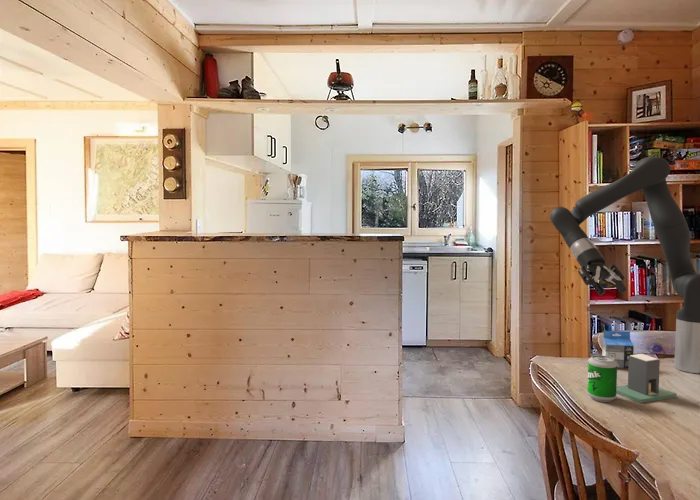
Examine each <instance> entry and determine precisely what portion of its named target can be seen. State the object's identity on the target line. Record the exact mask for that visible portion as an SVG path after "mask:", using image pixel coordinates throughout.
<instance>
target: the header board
mask: <svg viewBox="0 0 700 500" xmlns="http://www.w3.org/2000/svg"><path fill="white" fill-rule="evenodd" d="M616 395H620V396H623V397H625V398H626V399H629V400H631V401H634V402H636V403H638V404H643V403H649V402H655V401H660V400H661V401H662V400H667V399H672V398H677V396H678V395H677V393H676V392H673V391H671V390H668V389H665V388H663V387H660V386H659V393H654V392H651V383H650V382H649V387H648V395H644V394H641V393H639V392H636V391H634V390H631V389H629V388H628V384H627V385H626V384H625V385H619V386H617V387H616Z"/></svg>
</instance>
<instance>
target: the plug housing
mask: <svg viewBox="0 0 700 500" xmlns="http://www.w3.org/2000/svg"><path fill="white" fill-rule="evenodd" d="M660 360H661V359H659V358H656V357H653V356H650V355H647V354H644V353H637V354H636V353H635V354H633V355H630V356H629V368H628V370H627V372H628V374H627V375H628V376H627V385H628V388H629V389H631V390H634V391H636V392H639V393H641V394H644V395H648V387H649V382H650V383H651V392H654V393H659V387H660V364H661V363H660V362H661V361H660Z"/></svg>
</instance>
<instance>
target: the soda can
mask: <svg viewBox="0 0 700 500" xmlns="http://www.w3.org/2000/svg"><path fill="white" fill-rule="evenodd" d="M587 361H588V364H587V392H586V393H587V395H588V396H589V397H590V398H591V399H592V400H594V401H597V402H601V403H611V402H613V401H614V400H615V399H617V393H616V387H618V386H617V385H618V383H617V382H618V381H617V380H618V368H617V362H616V361H615V360H614V359H613V358H611V357H608V356H602V354H601V355H600V354H599V355H598V354H597V355H592V356H591V357H590V358H588V360H587Z"/></svg>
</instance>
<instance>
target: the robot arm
mask: <svg viewBox="0 0 700 500" xmlns="http://www.w3.org/2000/svg"><path fill="white" fill-rule="evenodd" d="M670 171H671V166H670V164H669V162H668V161H667V160H666V159H665V158H662V157H660V156H646V157H644V158H641V159H640V160H638V161H637V162H636V164H635V166H634V167H633V169H632V171H630V172H629V173H627V174H626V175H624V176H622V177H621V178H619V179H617V180H615V181H613V182H611V183H609V184H606V185H604V186H602V187H599V188H597V189H595V190H594V191H590V193H588V194H586V195H585V196H583V197H581V198H579V199H577V200H576V202H575V205H574V207H573V208H572V209H571V210H569V209H568V208H566V207H564V206H558V207H555V208H554V209H552V211H551V212H550V215H549V219H550V222H551V223H552V225H553V226H554V228H555V229H556V230H557V231H558V232H559V234H560V235H561V236H562V238H563V240H564V242H565V244H566V245H567V247H568V248H569V250H570V251H571V254H572V255H573V257H574V259H575V260H576V261H577V263H578V265H579V266H580V268H579V270H578V272H577V273H578V274H579V276H580V278H581V280H582V281H583V283H584V284H585V285H586V286H591V287H593V288H594V290H595V291H596V293H597V294H598V296H603V295H604V294H605V293H606V290H605V288H604V287H603V285H602V284H601V283H600V282H599V281H601V280H606V281H607V282H608V283H609V282H610V283H612V284H613V285H614V286H615V287H616V289H617V290H618V292H619V293H620V294H621V295H623V294H625V293H626V292H627V290H628V289H627V287H626V285H625V284H624V282H623V281H624V280H625V277H626V276H625V275H623V274H622V272H621V271H620V270H619V268H618V267H617V266H616V264H612V265H610V266H608V265H607V264H606V263H605V260H606V259H605V257H604V255H602V253H601V252H600V250H599V249H598V247H597V246H596V245H595V243H594V242H593V241H592V240H591V238H589V236H588V234H586V232H585V231H584V230H583V229H582V228H581V227H580V225H582V224H583V222H585V221H586V220H587V219H588V218H590V217H591V216H592V215H595V214H597V213H598V212H601V211H602V210H604V209H606V208H608V207H609V206H611V205H613V204H615V203H616V202H618V201H620V200H622V199H623V198H626V197H628V196H630V195H632V194H633V193H636V192H639V191H640V190H641V192H642V193H643V197H644V198H645V202H646V205H647V209H648V211H649V212H648V213H649V215H650V219H651V222H652V226H653V229H654V231H655V233H656V234H655V235H656V237H657V240H658V242H659V245H660V247H661V250H662V253H663V255H664V259H665V261H666V263H667V268H668V272H669V275H670V276H669V277H670V280H671V284H672V288H673V290H674V292H675V293H676V294H677V295H678V296H679V297H681V298H684V299H683V307H682V308H679V309H678V310H677V311H676V317H675V319H676V320H675V339H674V340H675V343H674V368H675V369H677V370H679V371H682V372H685V373H690V374H691V373H692V374H700V273H697V272H696V270H695V267H694V266H693V265H694V264H693V263H692V261H691V256H690V248H691V247H690V246H691V239H692V238H691V237H692V236H691V232H690V228H689V226H688V221H687V220H686V217H685V215H684V213H683V210H682V209H681V207H679V204H678V203H677V201H675V199H674V197H673V196H672V194H671V192H670V189H669V185H668V182H667V178H668V177H669V174H670Z"/></svg>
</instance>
